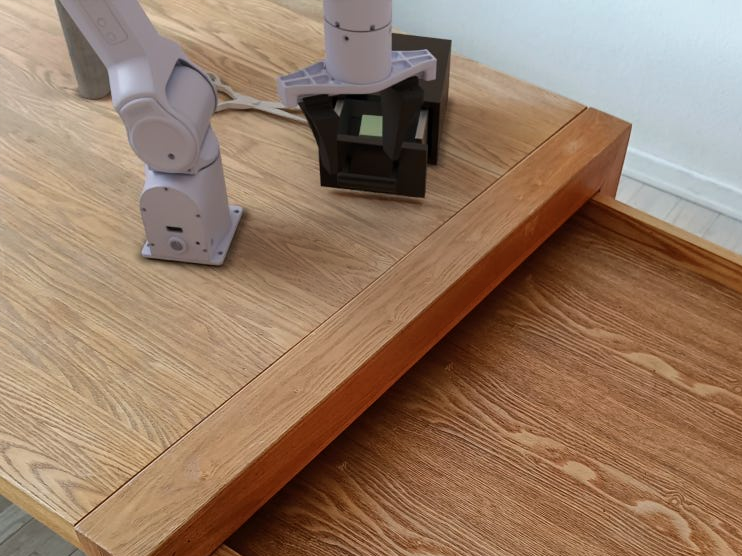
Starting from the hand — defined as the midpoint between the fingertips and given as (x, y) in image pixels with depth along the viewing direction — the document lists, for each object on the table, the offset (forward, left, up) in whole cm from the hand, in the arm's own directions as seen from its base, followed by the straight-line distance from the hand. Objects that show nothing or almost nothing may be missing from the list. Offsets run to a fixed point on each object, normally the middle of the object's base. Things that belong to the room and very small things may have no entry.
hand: (360, 161), depth 85 cm
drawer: (+12, 0, -8) cm, 15 cm away
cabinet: (+23, 0, -9) cm, 25 cm away
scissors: (+23, +17, -9) cm, 30 cm away
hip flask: (+29, +35, -10) cm, 46 cm away
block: (+13, 0, -7) cm, 14 cm away
